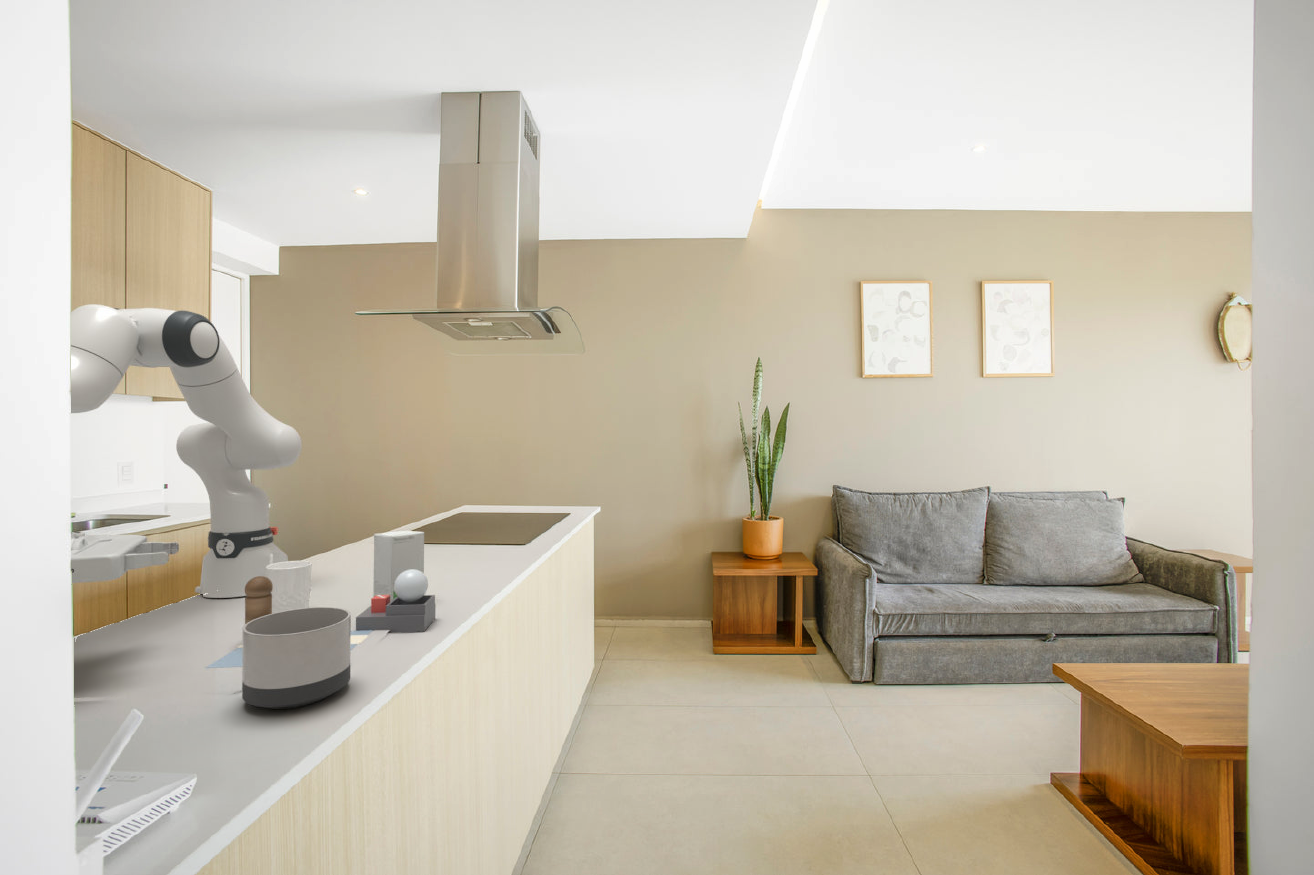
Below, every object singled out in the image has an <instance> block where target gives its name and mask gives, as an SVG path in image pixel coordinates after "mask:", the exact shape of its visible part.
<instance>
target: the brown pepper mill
mask: <svg viewBox="0 0 1314 875" xmlns="http://www.w3.org/2000/svg"><path fill="white" fill-rule="evenodd" d="M272 589H273V584H272V582H271V580H270V579H269V578H267V577H264V576H257V577H254V578H252V579H250V580H249V581H248V582H247V584H246V586H245V594H246V596H244V598H245V600H244V625H245V624H247V623H248V622H250V621H252V620H254V619H257V618H259V617H262V616H265V615H269V614H272V594H271V592H272Z"/></svg>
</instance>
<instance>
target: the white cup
mask: <svg viewBox="0 0 1314 875" xmlns="http://www.w3.org/2000/svg"><path fill="white" fill-rule="evenodd" d="M312 563H313V562H311V561H309V560H288V561H287V562H279V563H274V564H270V565H268V566H266V577H267V578H269V579H270V580H271V582H272V584H273V589H272V592H271V594H272V614H273V613H277V612H282V611H287V610H293V609H301V608H309V603H310V601H309V600H310V597H311V596H310V595H311V583H312V569H313V568H312V567H313V564H312Z"/></svg>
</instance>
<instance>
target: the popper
mask: <svg viewBox="0 0 1314 875" xmlns="http://www.w3.org/2000/svg"><path fill="white" fill-rule="evenodd" d="M370 604H371V605H370V606H369V607H367V608H366V609H365V610H364V611H362V612H361V613H360V614H358V615H357V616H356V617H355V631H359V630H373V631H387V634H390V633H389V632H401V633H418V632H417V631H420V632H419V633H422V632H421V631H425V632H426V631H427V629H428V628H429V627H430V626H431V624H432V623H433V622H434V621H435V620H436V595H435V594H424V595H423V597H421V598H420V599H418V600H416V601H413V602H406V601H403V600H401V599H400V598H398V597H396V598H395V599H393V600H392V601H391V602H390V595H376V596H374V597H373V596H372V597H371V598H370ZM434 619H435V620H434ZM433 620H434V621H433ZM431 622H432V623H431ZM430 623H431V624H430ZM429 625H430V626H429ZM428 626H429V627H428ZM427 627H428V628H427ZM426 628H427V629H426Z"/></svg>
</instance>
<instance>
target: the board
mask: <svg viewBox="0 0 1314 875" xmlns="http://www.w3.org/2000/svg"><path fill="white" fill-rule="evenodd" d="M373 631H374V630H359V631H356V630H351V651H353V649H354V648H355V647H356V646H357V645H360V644H361V643H362V642H364V641H365V640H366V639H367V638H368V637H369V636H370V634H371V633H372V632H373ZM214 668H215V669H217V668H242V644H240V645H237V647H236V648H235V649H234V650H231V651H230V652H229V653H227V654H225V655H223V656H222V657H221V658H219V659H217V660H216V661H214V662H212V663H210V664H208V665H207V666H206V667H204V669H214Z"/></svg>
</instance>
